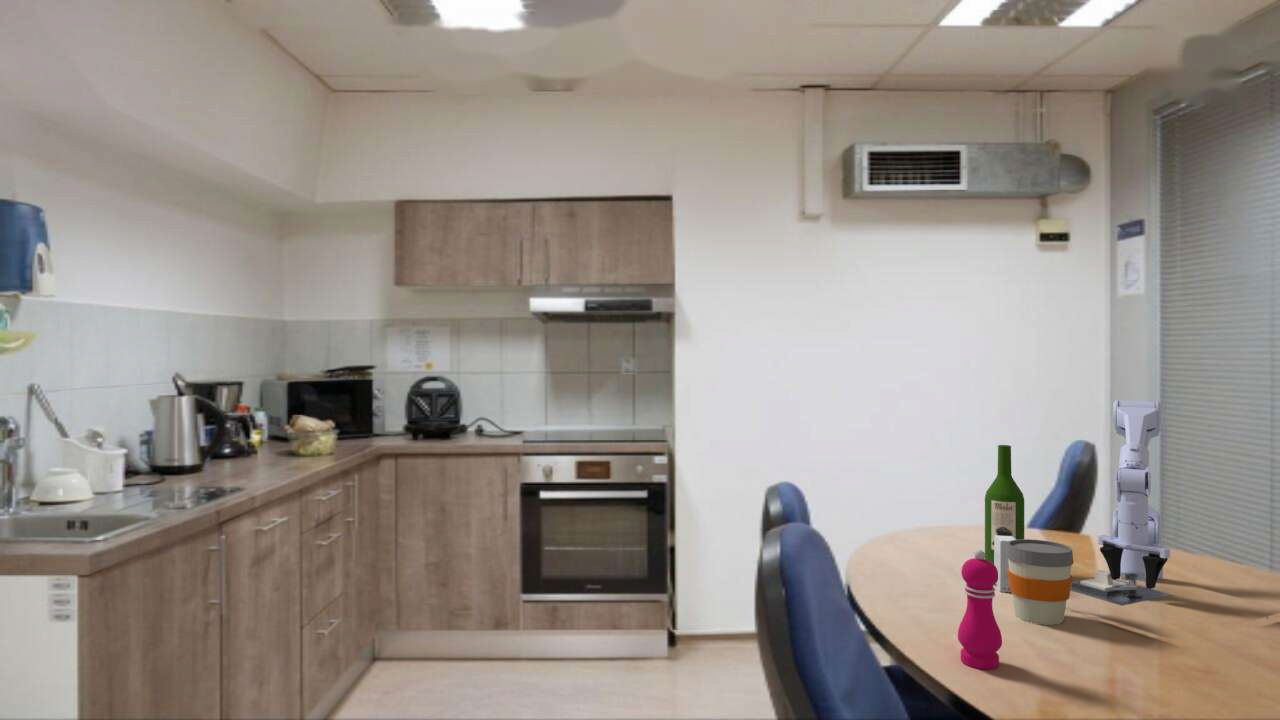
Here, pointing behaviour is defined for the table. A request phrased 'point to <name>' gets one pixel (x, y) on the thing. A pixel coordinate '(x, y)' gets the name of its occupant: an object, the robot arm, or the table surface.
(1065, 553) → the reusable coffee cup
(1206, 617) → the table surface
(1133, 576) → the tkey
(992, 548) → the wine bottle
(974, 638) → the pepper mill
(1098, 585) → the cover
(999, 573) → the skincare box
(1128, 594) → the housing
